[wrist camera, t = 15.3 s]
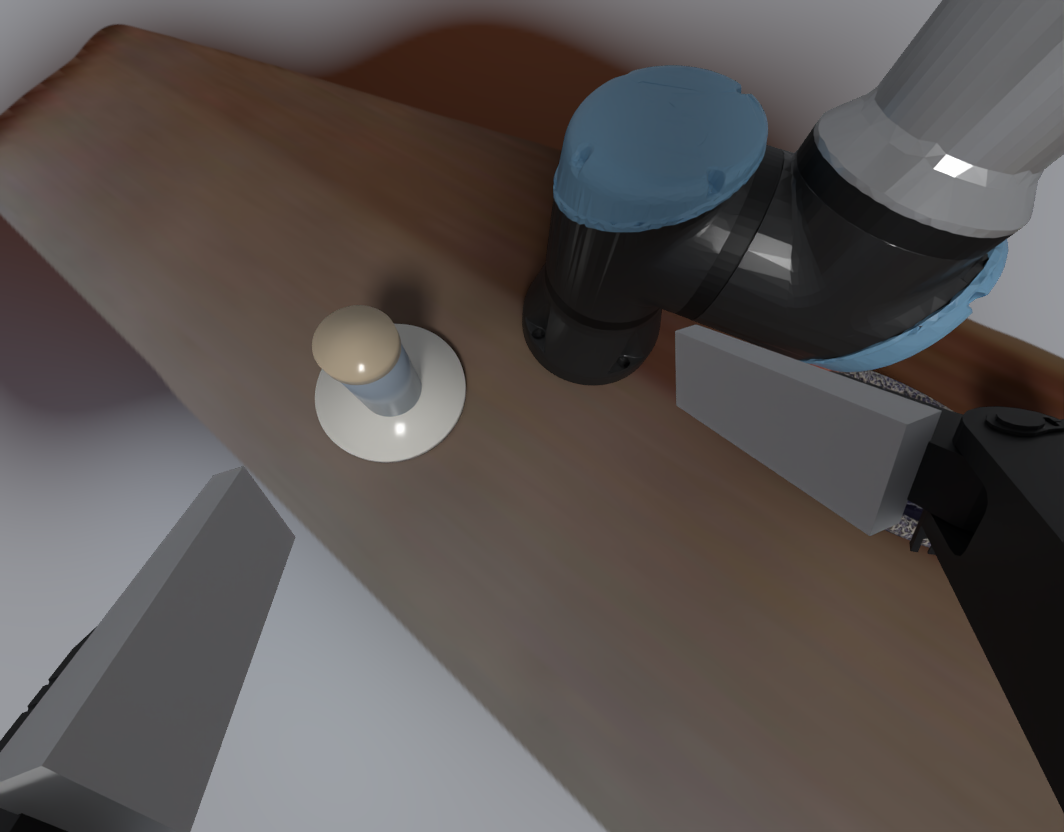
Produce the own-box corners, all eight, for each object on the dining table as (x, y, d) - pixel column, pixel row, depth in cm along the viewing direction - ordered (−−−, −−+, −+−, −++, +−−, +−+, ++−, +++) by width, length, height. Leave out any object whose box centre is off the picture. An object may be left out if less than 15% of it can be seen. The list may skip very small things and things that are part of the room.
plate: (360, 311, 43) (357, 306, 42) (486, 353, 42) (486, 349, 41) (292, 433, 38) (286, 431, 37) (432, 483, 38) (430, 482, 37)
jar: (406, 350, 41) (375, 292, 31) (434, 399, 39) (411, 354, 30) (349, 378, 39) (298, 327, 30) (376, 430, 38) (332, 393, 28)
